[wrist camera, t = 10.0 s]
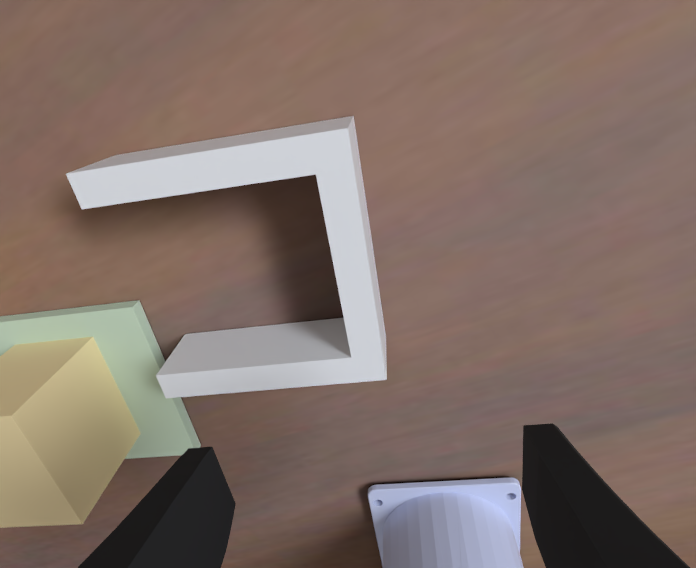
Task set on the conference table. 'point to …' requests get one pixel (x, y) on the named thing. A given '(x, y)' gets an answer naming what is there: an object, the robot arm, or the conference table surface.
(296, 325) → the frame
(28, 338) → the mat
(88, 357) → the block
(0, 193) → the conference table surface
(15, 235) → the conference table surface
